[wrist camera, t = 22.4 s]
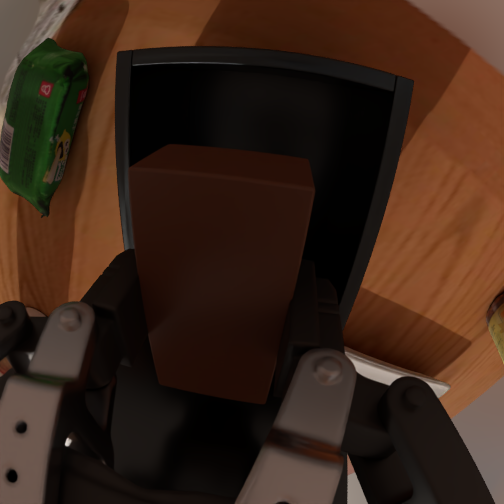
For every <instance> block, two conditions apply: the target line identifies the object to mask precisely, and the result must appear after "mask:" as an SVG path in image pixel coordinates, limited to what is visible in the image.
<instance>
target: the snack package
mask: <svg viewBox="0 0 504 504" xmlns="http://www.w3.org/2000/svg"><path fill="white" fill-rule="evenodd" d="M88 80H89V75H88V70H87V62H86V59H85V57H84V55H83V54H82V53H80V52H73V51H69V50H66V49H62V48H61V47H59V46H58V45H57V44H56V42H55V41H54V40H53V39H51V38H47V39H46V40H45V41H44V42H42V43H41V44H40V45H39V46H37V47H36V48H35V49H34V50H33V51H31V52H30V53H29V54H28V55H27V56H26V57H25V58H24V59H23V60H22V62H21V63H20V65H19V66H18V68H17V70H16V73H15V75H14V79H13V82H12V85H11V88H10V93H9V98H8V102H7V108H6V113H5V118H4V122H3V127H2V132H1V141H0V176H1V179H2V180H3V182H4V183H5V184H6V185H7V187H8V188H9V189H10V190H11V191H12V192H13V193H15V194H17V195H20V196H22V197H24V198H25V199H26V200H28V201H29V202H30V203H31V204H32V205H33V206H34V207H35V208H36V209H37V210H38V211H39V212H40V213H42V214H43V215H42V216H41V218H42V217H43V216H47V217H48V215H49V206H50V201H51V198H52V196H53V194H54V192H55V190H56V189H57V187H58V185H59V184H60V182H61V179H62V177H63V173H64V169H65V165H66V161H67V157H68V154H69V150H70V146H71V142H72V138H73V135H74V131H75V128H76V124H77V121H78V117H79V114H80V110H81V107H82V104H83V102H84V99H85V96H86V93H87V89H88Z"/></svg>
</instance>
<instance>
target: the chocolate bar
mask: <svg viewBox="0 0 504 504" xmlns="http://www.w3.org/2000/svg"><path fill="white" fill-rule="evenodd" d="M128 181H129V197H130V210H131V221H132V231H133V240H134V249H135V257H136V265H137V272H138V275H139V281H140V288H141V294H142V300H143V306H144V312H145V318H146V323H147V328H148V336H149V341H150V346H151V351H152V355H153V360H154V364H155V368H156V373H157V377H158V381H159V384H161V385H164V386H168V387H172V388H177V389H181V390H185V391H190V392H194V393H199V394H204V395H209V396H214V397H219V398H225V399H231V400H237V401H243V402H250V403H256V404H265V403H266V400H267V397H268V393H269V390H270V386H271V382H272V379H273V375H274V371H275V367H276V361H277V354H278V350H279V346H280V342H281V338H282V334H283V330H284V326H285V322H286V318H287V313H288V309H289V305H290V301H291V300H292V299H293V295H294V291H295V286H296V282H297V277H298V273H299V268H300V264H301V259H302V255H303V250H304V245H305V241H306V236H307V231H308V226H309V221H310V216H311V211H312V206H313V201H314V196H315V187H314V182H313V177H312V173H311V168H310V163H309V160H308V159H305V158H299V157H292V156H285V155H278V154H271V153H263V152H255V151H247V150H238V149H228V148H218V147H206V146H194V145H179V144H168V145H166V146H165V147H163V148H161V149H159V150H158V151H156V152H154V153H152V154H151V155H149V156H147V157H146V158H144V159H142V160H141V161H139V162H137V163H136V164H134V165H132V166H131V167H129V169H128Z"/></svg>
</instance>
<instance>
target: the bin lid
mask: <svg viewBox="0 0 504 504" xmlns="http://www.w3.org/2000/svg"><path fill="white" fill-rule="evenodd" d="M275 372H276V367H275V371H274V375H273V379H272V382H271V386H270V390H269V393H268V397H267V400H266V403H265V404H256V403H250V402H243V401H237V400H231V399H225V398H219V397H214V396H209V395H204V394H199V393H194V392H190V391H185V390H181V389H177V388H172V387H168V386H164V385H161V384H159V381H158V377H157V373H156V368H155V364H154V360H153V355H152V351H151V346H150V341H149V336H148V335H147V337H146V339H145V341H144V343H143V345H142V347H141V349H140V351H139V354H138V356H137V358H136V360H135V362H134V364H133V366H132V367H128V366H125V365H121V364H119V366H118V368H117V370H116V372H115V373H116V375H117V386H116V393H115V400H114V408H113V416H112V424H111V440H112V444H113V448H114V471H116V472H117V473H119V474H120V475H122V476H123V477H125V478H126V479H128V480H129V481H131V482H133V483H134V484H136V485H138V486H139V487H141V488H145V489H153V490H172V491H199V492H204V493H209V494H215V495H220V496H226V497H233V498H238V496H239V494H240V492H241V490H242V488H243V486H244V484H245V482H246V480H247V478H248V476H249V474H250V472H251V470H252V468H253V466H254V464H255V462H256V459H257V457H258V455H259V453H260V451H261V449H262V447H263V444H264V442H265V440H266V438H267V436H268V434H269V432H270V430H271V428H272V426H273V424H274V421H275V419H276V417H277V414H278V412H279V410H280V407H281V405H282V398H281V397H273V393H274V383H275ZM340 453H341V454H342V455H343V457H344V463H343V469H342V473H341V476H340V480H339V483H338V486H337V490H336V493H335V496H334V499H333V502H332V504H347V452H343V451H340Z"/></svg>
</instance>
